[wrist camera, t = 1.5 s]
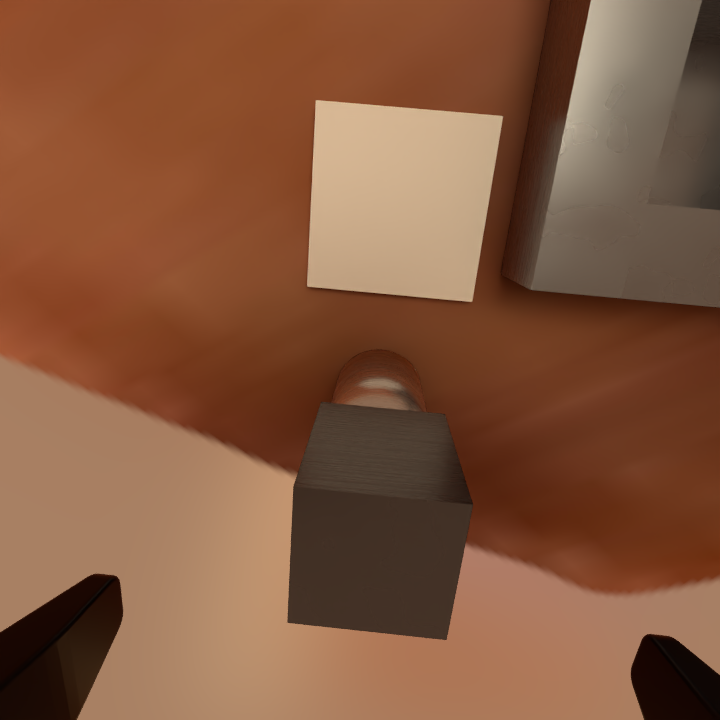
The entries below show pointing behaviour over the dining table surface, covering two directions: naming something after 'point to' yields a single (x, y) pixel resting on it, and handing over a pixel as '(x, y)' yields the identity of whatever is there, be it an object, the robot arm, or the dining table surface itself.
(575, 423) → the dining table surface
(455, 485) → the dark square post
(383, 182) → the pad
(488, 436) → the dining table surface
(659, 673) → the robot arm
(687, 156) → the block
